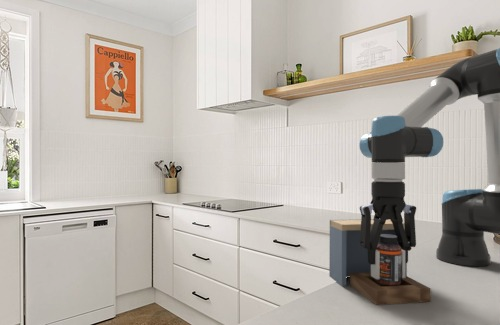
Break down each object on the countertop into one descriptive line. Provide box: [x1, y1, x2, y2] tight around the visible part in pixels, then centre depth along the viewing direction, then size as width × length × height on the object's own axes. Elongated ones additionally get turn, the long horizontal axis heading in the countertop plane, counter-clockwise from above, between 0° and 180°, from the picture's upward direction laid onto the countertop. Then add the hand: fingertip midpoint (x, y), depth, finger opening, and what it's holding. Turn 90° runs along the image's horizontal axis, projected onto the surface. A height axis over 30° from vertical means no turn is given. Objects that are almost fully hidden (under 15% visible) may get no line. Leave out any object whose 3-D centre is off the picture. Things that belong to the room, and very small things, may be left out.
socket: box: [349, 272, 431, 306], centre depth 83 cm, size 13×13×3 cm
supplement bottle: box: [375, 234, 402, 286], centre depth 83 cm, size 6×6×11 cm
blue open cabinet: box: [328, 218, 408, 287], centre depth 93 cm, size 18×8×16 cm, turn 99°
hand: (387, 276), depth 83 cm, fingers closed on supplement bottle, 6 cm apart
